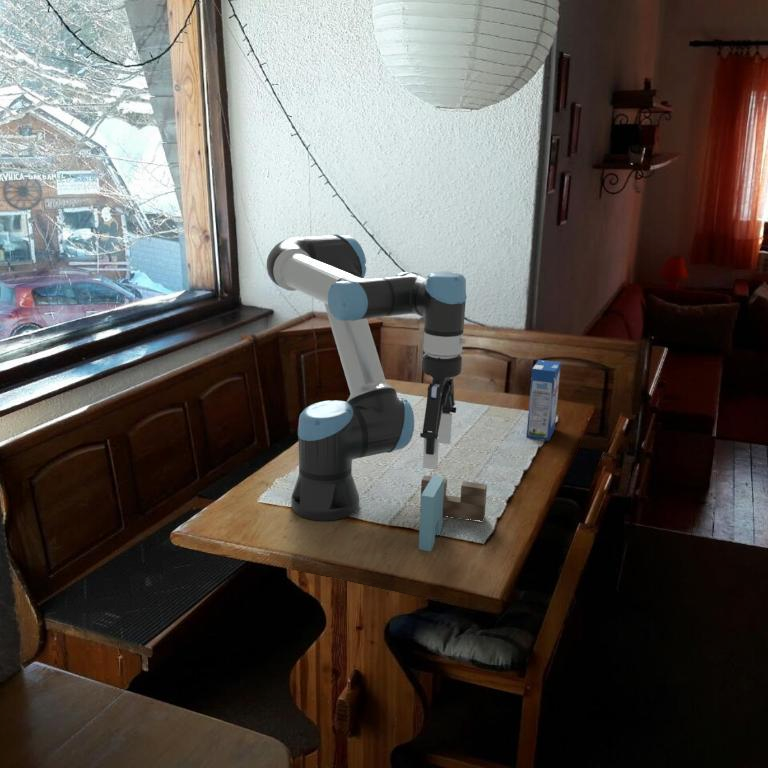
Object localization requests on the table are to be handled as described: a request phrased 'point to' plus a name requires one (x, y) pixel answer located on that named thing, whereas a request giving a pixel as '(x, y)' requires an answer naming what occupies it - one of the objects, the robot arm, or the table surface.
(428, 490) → the teal slotted plate
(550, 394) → the milk carton
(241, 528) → the table surface
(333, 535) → the table surface
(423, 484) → the walnut slotted plate
